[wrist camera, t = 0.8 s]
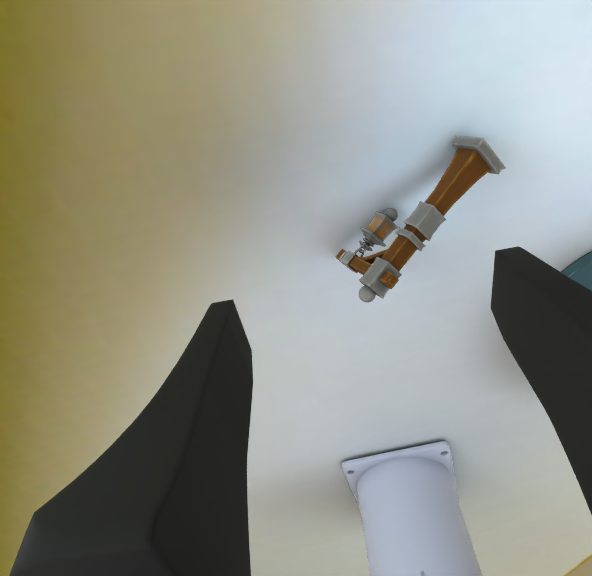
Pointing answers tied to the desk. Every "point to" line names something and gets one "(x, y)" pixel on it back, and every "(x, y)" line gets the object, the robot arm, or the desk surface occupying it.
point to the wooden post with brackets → (418, 219)
